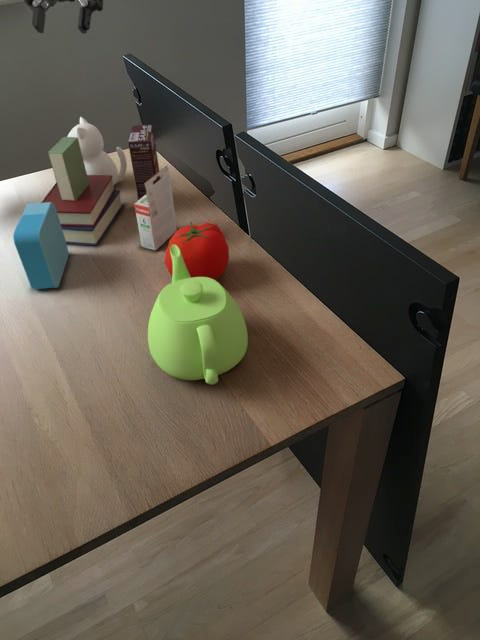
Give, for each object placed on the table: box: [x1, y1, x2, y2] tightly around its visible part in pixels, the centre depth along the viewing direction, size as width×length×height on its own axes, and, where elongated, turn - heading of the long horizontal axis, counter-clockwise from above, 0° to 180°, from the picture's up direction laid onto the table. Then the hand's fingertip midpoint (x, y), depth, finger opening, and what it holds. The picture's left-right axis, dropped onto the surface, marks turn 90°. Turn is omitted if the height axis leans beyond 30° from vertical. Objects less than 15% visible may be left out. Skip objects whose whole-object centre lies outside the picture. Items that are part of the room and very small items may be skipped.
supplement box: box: [127, 124, 161, 201], centre depth 114 cm, size 9×5×16 cm, turn 4°
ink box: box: [133, 165, 178, 251], centre depth 103 cm, size 4×8×15 cm, turn 153°
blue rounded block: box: [12, 202, 69, 290], centre depth 97 cm, size 12×4×12 cm, turn 3°
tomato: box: [164, 220, 230, 281], centre depth 95 cm, size 11×13×10 cm
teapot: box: [147, 244, 249, 385], centre depth 80 cm, size 22×15×13 cm
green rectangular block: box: [47, 136, 89, 201], centre depth 106 cm, size 3×7×10 cm, turn 170°
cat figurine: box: [66, 116, 128, 187], centre depth 122 cm, size 9×12×15 cm
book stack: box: [40, 175, 124, 247], centre depth 112 cm, size 12×16×7 cm
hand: (60, 30), depth 98 cm, fingers open, 8 cm apart
